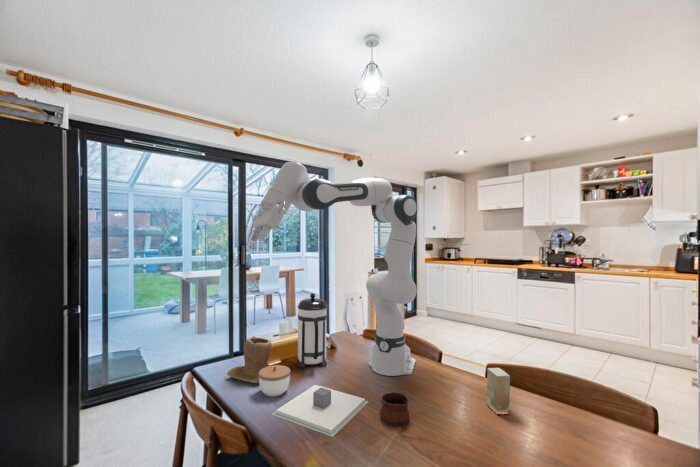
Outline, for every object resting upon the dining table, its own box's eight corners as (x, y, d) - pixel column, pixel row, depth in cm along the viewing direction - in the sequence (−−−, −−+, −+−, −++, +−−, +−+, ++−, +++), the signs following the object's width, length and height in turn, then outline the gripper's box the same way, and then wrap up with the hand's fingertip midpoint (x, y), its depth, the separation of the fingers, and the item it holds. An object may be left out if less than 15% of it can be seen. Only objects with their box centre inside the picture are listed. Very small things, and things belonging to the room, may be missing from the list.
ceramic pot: (426, 443, 85) (426, 416, 86) (360, 435, 89) (360, 409, 89) (424, 409, 103) (424, 387, 103) (369, 404, 107) (369, 382, 107)
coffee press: (285, 365, 136) (286, 294, 137) (310, 354, 150) (311, 289, 150) (316, 375, 126) (317, 298, 127) (340, 363, 140) (341, 293, 140)
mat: (314, 387, 117) (314, 385, 117) (369, 402, 106) (369, 401, 106) (271, 415, 98) (271, 414, 98) (332, 438, 87) (332, 436, 87)
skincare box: (486, 405, 105) (486, 367, 105) (499, 404, 106) (499, 367, 106) (496, 415, 99) (496, 375, 99) (510, 415, 99) (510, 375, 99)
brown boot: (277, 376, 126) (278, 337, 126) (255, 388, 115) (256, 346, 115) (249, 368, 133) (249, 332, 133) (225, 379, 122) (226, 339, 123)
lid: (315, 387, 115) (315, 373, 116) (364, 401, 106) (365, 386, 106) (276, 413, 98) (276, 396, 98) (331, 433, 88) (331, 415, 88)
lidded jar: (282, 403, 105) (283, 374, 106) (252, 399, 108) (252, 370, 108) (294, 388, 116) (295, 361, 116) (267, 385, 118) (267, 359, 118)
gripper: (294, 205, 100) (274, 244, 97) (275, 211, 118) (257, 245, 115) (277, 194, 98) (255, 234, 94) (260, 202, 116) (241, 236, 112)
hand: (256, 240), depth 104 cm, fingers open, 8 cm apart
